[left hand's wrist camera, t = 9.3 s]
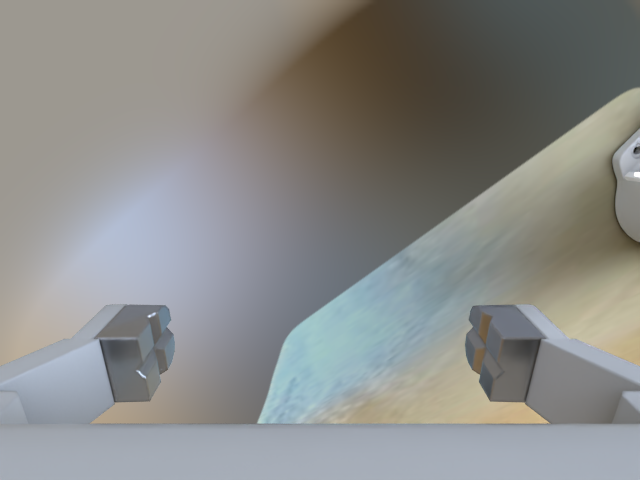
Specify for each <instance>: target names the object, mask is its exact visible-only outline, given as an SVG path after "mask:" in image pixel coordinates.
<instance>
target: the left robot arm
mask: <svg viewBox="0 0 640 480" xmlns="http://www.w3.org/2000/svg"><path fill="white" fill-rule="evenodd" d="M635 148H636V151H635V152H633V150H634V149H635ZM612 164H613V169H614V172H615V175H616V178H617V191H616V198H615V210H616V215H617V219H618V221H619V224H620V226H621V227H622V229H623V230H624V231H625V233H626V234H627V235H628V236H630V237H631V238H632V239H634V240H636V241H638V242H640V128H639V129H638V130H637V131H636V132H635V133H634V134H633V135H632V136H631V137H630V138H629V139H628V140H627V141H626V142H625V143H624V144H623V145H622V146H621V147H620V148H619V149H618V150H617V151H616V152H615V154H614V156H613V159H612ZM170 321H171V317H170V312H169V309H168V308H167V306H165V305H127V304H120V305H106V306H105V307H104V308H103V309H102V310H101V311H100V312H98V313H97V314H96V315H95V316H94V317H93V318H92V319H91V320H90V321H89V322H88V323H87V324H86V325H85V326H84V327H83V328H82V329H81V330H80V331H79V332H77V333H76V334H75V335H74V336H73V337H72V338H71V339H63V340H61V341H58V342H56V343H54V344H51V345H49V346H47V347H44V348H42V349H40V350H37V351H35V352H33V353H30V354H28V355H26V356H23V357H21V358H19V359H16V360H14V361H12V362H9V363H7V364H4V365H2V366H0V480H640V366H638V365H635V364H633V363H631V362H628V361H626V360H624V359H621V358H619V357H617V356H614V355H612V354H610V353H607V352H605V351H603V350H600V349H598V348H596V347H593V346H591V345H589V344H586V343H584V342H582V341H579V340H577V339H569V338H568V337H567V336H566V335H565V334H564V333H563V332H562V331H560V330H559V329H558V328H557V327H556V326H555V325H554V324H553V323H552V322H551V321H550V320H549V319H548V318H547V317H546V316H545V315H544V314H543V313H542V312H541V311H540V310H538V309H537V308H536V307H535V306H533V305H531V304H523V305H484V306H473V307H472V309H471V311H470V316H469V321H470V322H471V324H472V325H473V328H472V329H471V330H470V331H469V332H468V333H467V335H466V343H465V348H466V356H467V360H468V363H469V365H470V367H471V368H472V370H474V371H475V372H477V373H478V374H480V379H479V383H480V384H481V386H482V388H483V390H484V391H485V393H486V395H487V397H488V398H489V400H490V401H495V402H526V403H525V404H526V405H527V406H529V407H530V408H531V409H533V410H534V411H535V412H536V413H538V414H539V415H540V416H542V417H543V418H544V419H546V420H547V421H548V422H549V423H551V424H89V423H91V422H92V421H93V420H95V419H96V418H97V417H98V416H100V415H101V414H102V413H104V412H105V411H106V410H108V409H109V408H110V407H112V406H113V405H114V404H115V403H114V402H143V401H150V400H151V398H152V397H153V395H154V393H155V391H156V390H157V388H158V386H159V384H160V383H161V379H160V374H162V373H163V372H165V371H166V370H168V368H169V366H170V365H171V363H172V359H173V355H174V349H175V342H174V335H173V333H172V332H171V331H170V330H169V329H168V328H167V325H168V324H169V322H170Z"/></svg>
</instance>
